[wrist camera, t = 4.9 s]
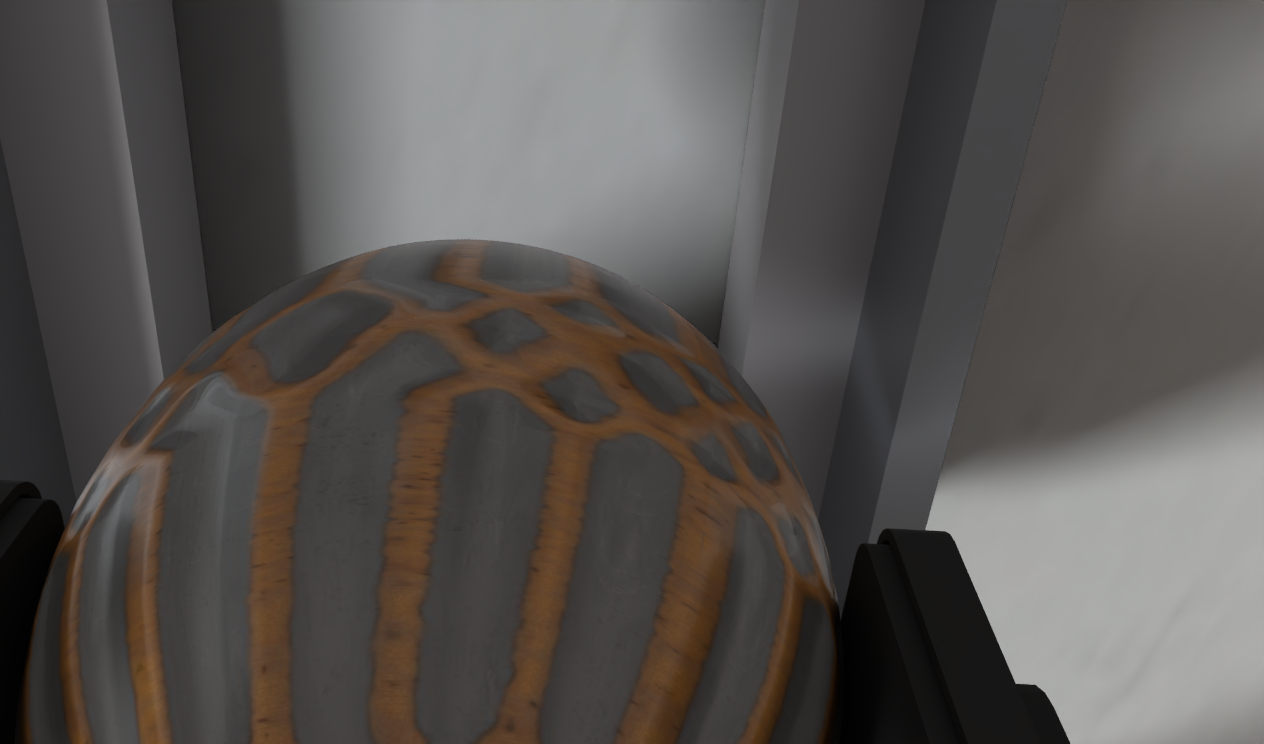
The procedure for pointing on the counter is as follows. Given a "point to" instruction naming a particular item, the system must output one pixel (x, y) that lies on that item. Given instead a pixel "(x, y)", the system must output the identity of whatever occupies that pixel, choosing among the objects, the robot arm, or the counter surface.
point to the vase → (443, 529)
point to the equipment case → (759, 261)
